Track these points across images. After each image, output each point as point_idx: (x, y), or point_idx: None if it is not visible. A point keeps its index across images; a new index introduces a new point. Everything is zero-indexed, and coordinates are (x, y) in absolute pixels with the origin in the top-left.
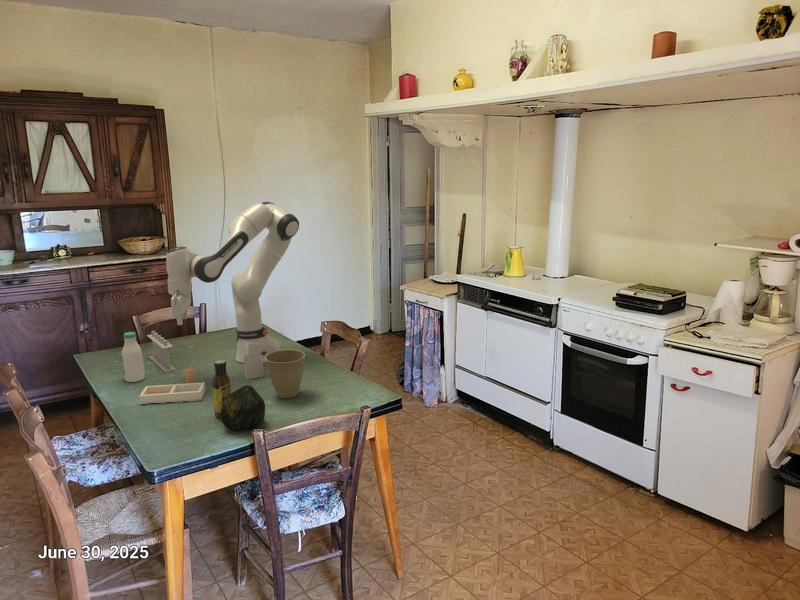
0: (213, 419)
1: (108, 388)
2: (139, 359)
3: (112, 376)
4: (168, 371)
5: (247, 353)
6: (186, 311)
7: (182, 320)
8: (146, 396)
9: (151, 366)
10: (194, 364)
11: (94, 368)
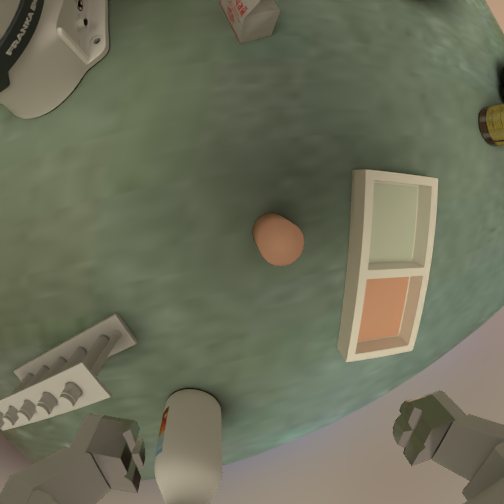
0: (500, 150)
1: (256, 440)
2: (204, 441)
3: None
4: (131, 334)
5: (76, 44)
6: (59, 483)
7: (431, 424)
8: (416, 332)
9: None
10: (64, 258)
11: None
